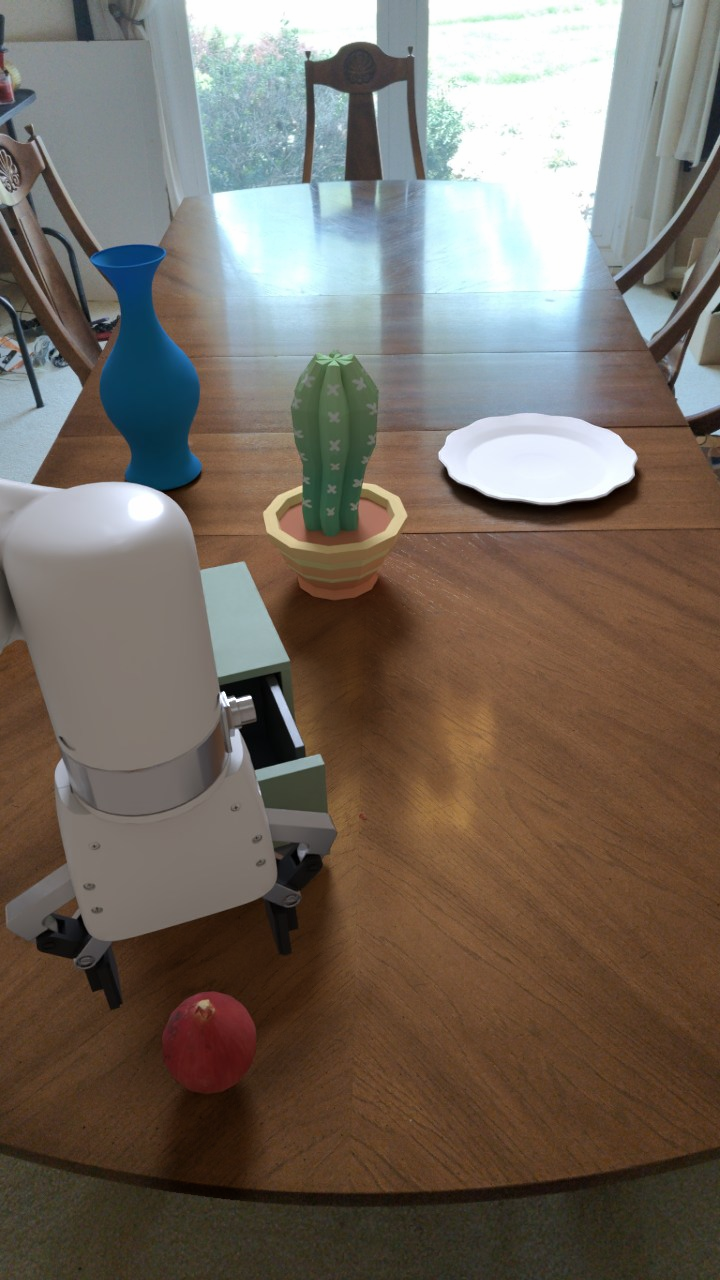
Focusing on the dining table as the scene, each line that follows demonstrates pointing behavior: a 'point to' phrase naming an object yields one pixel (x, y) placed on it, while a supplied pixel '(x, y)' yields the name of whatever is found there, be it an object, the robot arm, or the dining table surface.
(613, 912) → the dining table surface
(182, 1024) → the onion
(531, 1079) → the dining table surface
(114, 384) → the vase
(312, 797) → the drawer
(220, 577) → the cabinet
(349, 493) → the potted cactus
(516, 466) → the plate
